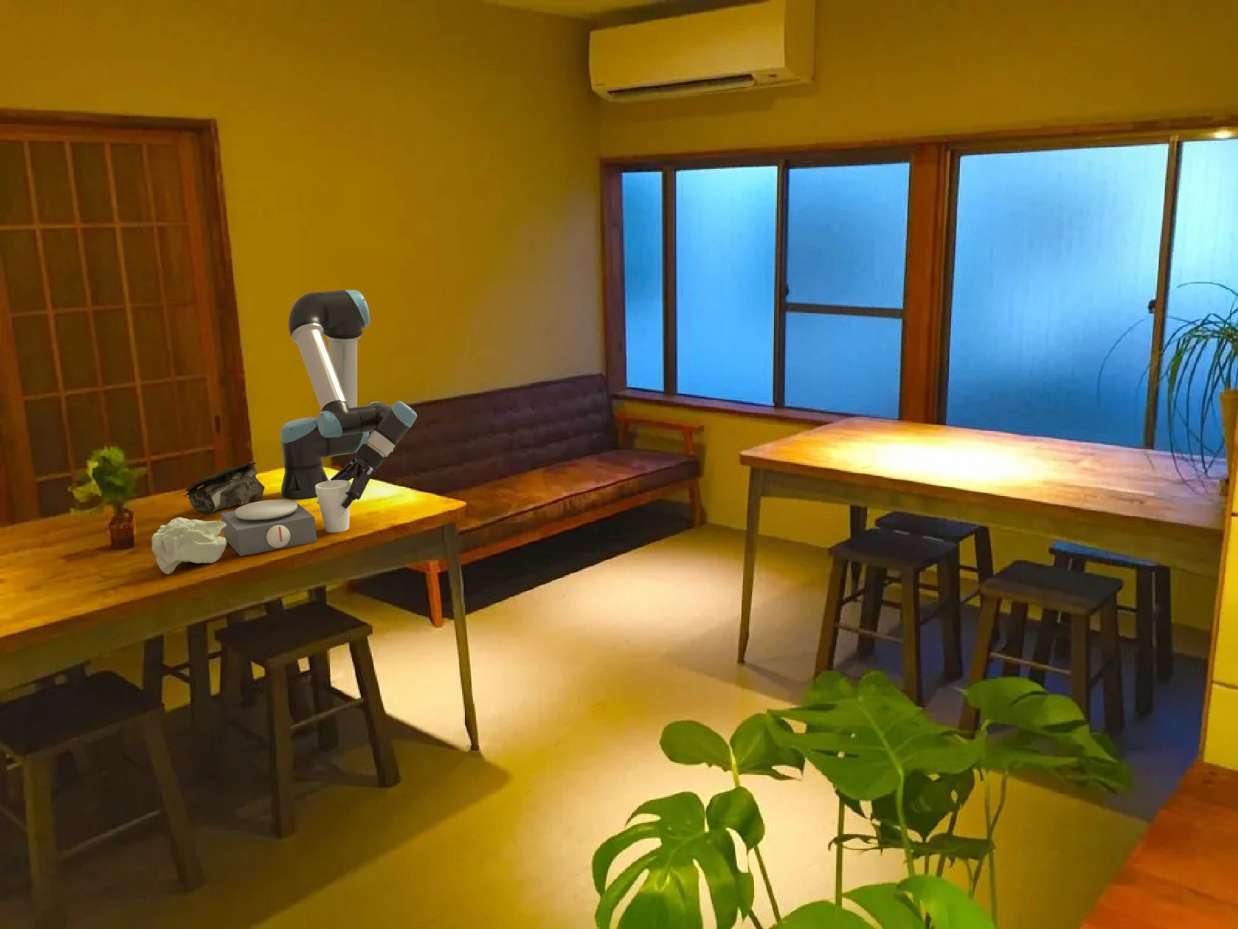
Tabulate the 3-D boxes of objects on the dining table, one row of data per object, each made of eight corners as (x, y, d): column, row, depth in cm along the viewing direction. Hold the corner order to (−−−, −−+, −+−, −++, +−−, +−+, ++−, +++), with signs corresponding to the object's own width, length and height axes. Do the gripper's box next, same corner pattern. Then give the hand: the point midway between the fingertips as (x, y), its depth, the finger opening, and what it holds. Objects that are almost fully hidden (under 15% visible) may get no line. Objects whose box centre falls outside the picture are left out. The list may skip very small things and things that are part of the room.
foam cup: (359, 524, 292) (355, 479, 289) (348, 534, 283) (343, 488, 280) (327, 524, 293) (322, 480, 290) (314, 534, 284) (309, 488, 281)
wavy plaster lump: (202, 582, 268) (210, 524, 272) (227, 579, 260) (235, 519, 264) (133, 573, 255) (142, 511, 259) (157, 569, 247) (167, 505, 251)
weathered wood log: (196, 534, 304) (216, 502, 296) (168, 503, 305) (188, 470, 298) (265, 507, 328) (285, 476, 321) (239, 478, 330) (259, 447, 322)
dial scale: (224, 537, 284) (220, 506, 281) (297, 524, 294) (293, 493, 292) (241, 557, 266) (236, 524, 264) (318, 542, 276) (314, 510, 274)
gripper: (400, 466, 281) (351, 528, 277) (370, 450, 302) (324, 508, 298) (379, 450, 277) (330, 513, 273) (350, 435, 298) (304, 494, 294)
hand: (327, 511), depth 285 cm, fingers open, 13 cm apart
